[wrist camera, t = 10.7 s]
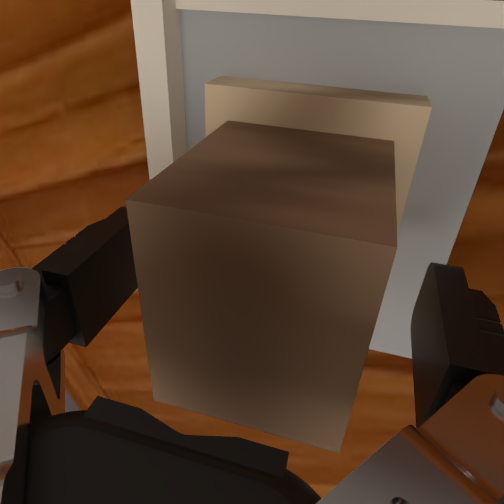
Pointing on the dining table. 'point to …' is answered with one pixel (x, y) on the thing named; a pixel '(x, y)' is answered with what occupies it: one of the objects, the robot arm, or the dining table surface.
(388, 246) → the two-tone stepped block
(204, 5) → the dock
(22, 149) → the dining table surface
